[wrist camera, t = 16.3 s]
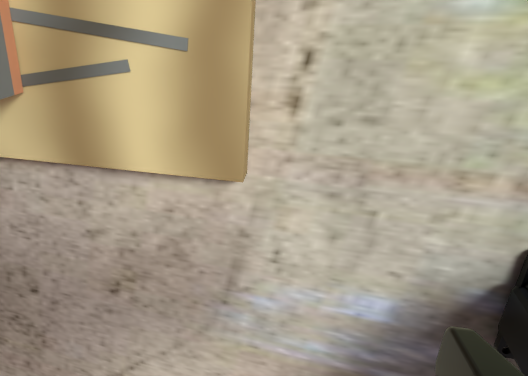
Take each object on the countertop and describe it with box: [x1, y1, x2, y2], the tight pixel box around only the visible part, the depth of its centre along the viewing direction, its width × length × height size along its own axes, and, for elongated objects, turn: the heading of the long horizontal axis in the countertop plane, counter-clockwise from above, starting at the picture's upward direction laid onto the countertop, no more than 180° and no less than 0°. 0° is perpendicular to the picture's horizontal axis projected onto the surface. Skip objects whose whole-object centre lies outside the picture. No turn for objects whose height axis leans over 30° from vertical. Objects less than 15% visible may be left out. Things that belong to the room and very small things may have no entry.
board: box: [0, 0, 255, 182], centre depth 18 cm, size 14×13×1 cm
